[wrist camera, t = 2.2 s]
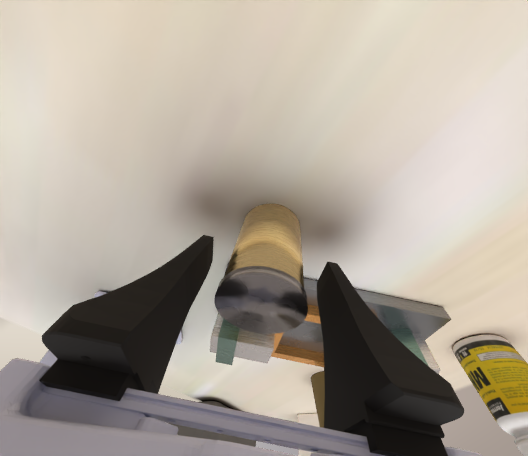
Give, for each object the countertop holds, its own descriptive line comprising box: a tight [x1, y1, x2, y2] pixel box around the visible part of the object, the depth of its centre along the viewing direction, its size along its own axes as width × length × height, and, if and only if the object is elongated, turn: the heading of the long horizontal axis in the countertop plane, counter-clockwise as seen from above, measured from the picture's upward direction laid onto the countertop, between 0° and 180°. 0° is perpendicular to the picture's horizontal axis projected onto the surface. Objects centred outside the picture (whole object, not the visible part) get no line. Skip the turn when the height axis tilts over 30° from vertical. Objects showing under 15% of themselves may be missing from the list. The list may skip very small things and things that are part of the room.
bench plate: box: [210, 263, 451, 374], centre depth 20 cm, size 20×13×5 cm, turn 80°
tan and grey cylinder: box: [215, 204, 308, 334], centre depth 13 cm, size 5×5×7 cm
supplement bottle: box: [453, 335, 528, 456], centre depth 18 cm, size 5×5×8 cm
